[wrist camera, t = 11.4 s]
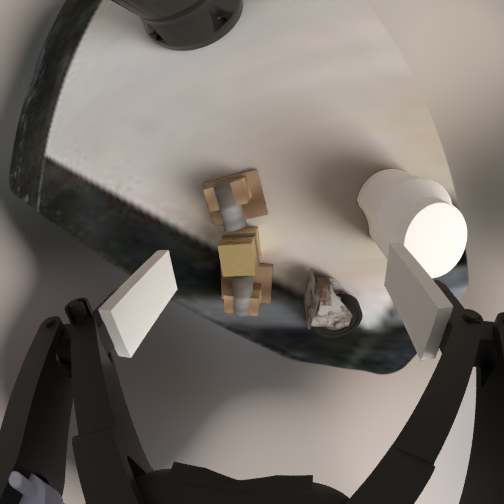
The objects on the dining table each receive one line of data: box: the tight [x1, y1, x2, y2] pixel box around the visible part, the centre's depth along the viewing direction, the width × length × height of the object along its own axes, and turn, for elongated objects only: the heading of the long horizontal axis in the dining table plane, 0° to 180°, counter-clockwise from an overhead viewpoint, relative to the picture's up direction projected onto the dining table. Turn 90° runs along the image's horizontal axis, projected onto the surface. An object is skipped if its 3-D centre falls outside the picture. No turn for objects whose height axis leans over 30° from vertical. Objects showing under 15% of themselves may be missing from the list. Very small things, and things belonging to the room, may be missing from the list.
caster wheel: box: [303, 268, 362, 338], centre depth 42 cm, size 7×11×10 cm
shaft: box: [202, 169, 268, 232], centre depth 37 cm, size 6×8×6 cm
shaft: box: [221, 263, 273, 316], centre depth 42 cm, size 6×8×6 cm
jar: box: [357, 169, 467, 278], centre depth 30 cm, size 12×10×15 cm
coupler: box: [218, 227, 261, 277], centre depth 39 cm, size 5×5×7 cm
